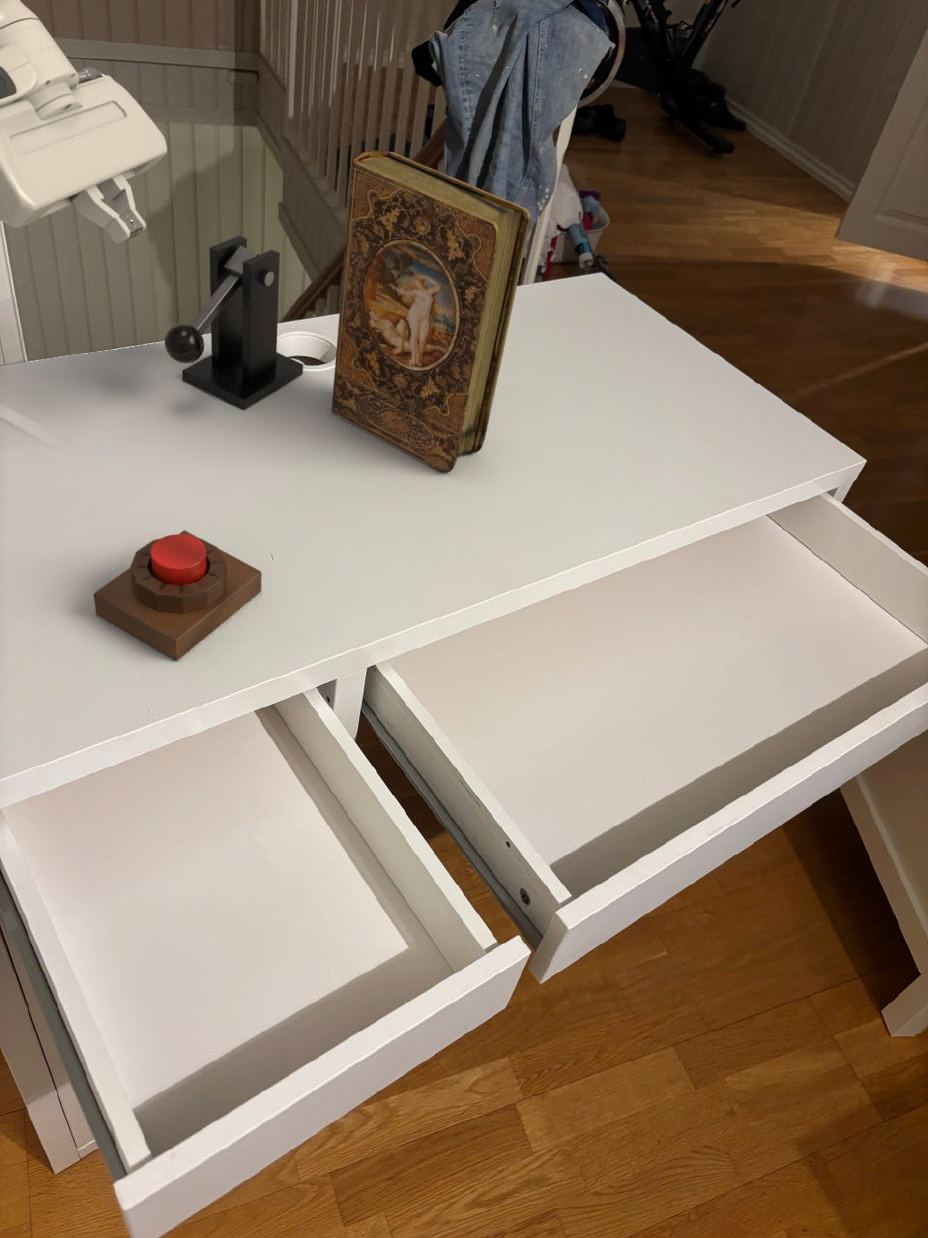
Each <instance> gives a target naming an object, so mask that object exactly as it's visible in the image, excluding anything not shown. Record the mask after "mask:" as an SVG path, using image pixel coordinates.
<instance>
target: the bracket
mask: <svg viewBox="0 0 928 1238" xmlns="http://www.w3.org/2000/svg"><path fill="white" fill-rule="evenodd" d="M240 246H243V247H245V248H247V249H248V239H247V238H246V237H244V236H241V235H237V236H235V237H231V238H229V239H226V240H224V241H222V242H220V243H218V244H215V245H212V246H210V247H209V250H208V251H209V288H210V289H209V293H210V294H209V296H210V298H211V297H212V296H213V294H214V293H215V292H216V291H217V289H218V288H219V287H220V286H221V285H222V283H223V282H224V281H225V280H226V278H227V277H228V273H227V271H226V269H225V267H224V265H225V264H226V263H227V261H228V260H229V259H230V258H231V257H232V255H233V254H234V253H235V252H236V250H237V249H238V248H239V247H240ZM280 259H281V253H280V251H277V250H275V249H270V250H267V251H265V252H262V253H260V254H259V255H258V256H256V257H253V258H251V259H249V260H247V261H244V262H243V288H242V287H239V289H238V290H237V291H236V292H235V294H234V295H233V296H232V298H231V299H230V300H229V301H228V303H227V304H226V305H225V306H224V308H223V309H222V310H221V311H220V313H219V314H218V315H217V316H216V318H215V319H214V320H213V322H212V323H211V324H210V341H211V342H210V345H211V347H210V348H211V354H210V355H208V356H206V357H204V358H202V359H200V360H199V361H198V360H197V361H196V362H195V363H193V364H191V365H189V366H187V367H185V368H183V369H182V370H181V379H182V381H183V382H185V383H188V384H190V385H192V386H194V387H196V388H198V389H200V390H202V391H204V392H206V393H208V394H210V395H212V396H214V397H216V398H218V399H220V400H223V401H224V402H227V403H228V404H231V405H232V406H235V407H236V408H238V409H241V410H243V411H245V410H246V409H248V408H249V407H252V406H253V405H254V404H256V403H258V402H259V401H260V400H263V399H264V398H266V397H268V396H269V395H271V394H272V393H274V392H276V391H277V390H279V389H281V388H282V387H284V386H286V385H287V384H289V383H290V382H292V381H293V380H295V379H298V378H299V377H300V376H302V375H303V374H304V364H303V363H301V362H299V361H297V360H295V359H293V358H290V357H289V356H286V355H284V354H282V353H280V352H278V320H279V295H280V293H279V291H280V287H279V286H280ZM210 298H209V299H210Z"/></svg>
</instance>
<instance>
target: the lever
mask: <svg viewBox="0 0 928 1238" xmlns="http://www.w3.org/2000/svg"><path fill="white" fill-rule="evenodd" d="M258 255H260V254H259V253H258V252H257V251H254V250H252V249H249V248H248V247H247V248H245V247H243V246H240V247H239V248H238V249H237V250H236V252H235V253H234V254H233V255H232V257H231V258H230V259H229V260H228V261H227V263H226V264H225V265H224V267H225V269H226V271H227V273H228V277H227V278H226V280H225V281H224V282H223V283H222V285H221V286H220V287H219V288H218V289H217V291H216V292H215V293H214V294H213V296H212V297H211V298H209V299H208V301H207V302H206V303H205V304H204V305H203V307H202V308H201V309H200V310H199V312H198V313H197V314H196V316H195V317H194V318H193V319H192V320H191V322H190V323H189V324H187V323H178V324H175V325H173V326H172V327H171V328H169V329H168V330H167V332H166V333H165V336H164V348H165V350H166V353H167V354H168V356H169V357H170V358H171V359H172V360H174V361H175V362H177V363H181V364H192V363H194V362H197V361H198V360H199V359H200V358H201V356H202V355H203V353H204V350H205V339H204V337H203V335H204V333H205V332H206V330H207V329H208V328H209V327H210V326H211V323H212V322H213V320H214V319H215V318H216V316H217V315H218V314H219V313H220V311H221V310H222V309H223V308H224V306H225V305H226V304H227V303H228V301H229V300H230V299H231V298H232V296H233V295H234V294H235V292H236V291H237V290H238V289H239V287H242V288H243V262H244V261H247V260H249V259H251V258H253V257H256V256H258Z"/></svg>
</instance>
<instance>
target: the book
mask: <svg viewBox="0 0 928 1238" xmlns="http://www.w3.org/2000/svg"><path fill="white" fill-rule="evenodd" d="M350 167H351V168H350V179H349V192H348V194H349V195H348V203H347V205H348V206H347V217H346V228H345V229H346V230H345V241H344V242H345V243H344V252H343V253H344V254H343V264H342V265H343V266H342V277H341V278H342V279H341V290H340V303H339V313H338V314H339V315H338V326H337V327H338V328H337V339H336V340H337V341H336V352H335V364H334V376H333V377H334V378H333V388H332V400H331V401H332V402H331V414H333V415H335V416H337V417H338V418H341V419H342V420H343V421H346V422H348V423H349V424H351V425H354V426H355V427H357V428H359V429H360V430H362V431H364V432H366V433H368V434H369V435H371V436H373V437H374V438H377V439H379V440H381V441H383V442H384V443H386V444H388V445H390V446H392V447H394V448H395V449H398V450H399V451H401V452H403V453H405V454H406V455H408V456H410V457H412V458H414V459H415V460H417V461H419V462H422V463H423V464H425V465H427V466H429V467H431V468H433V469H436V470H438V471H440V472H441V473H444V474H449V473H451V472H452V471H453V470H454V468H455V466H456V463H457V460H458V457H461V456H465V455H469V454H477V453H478V452H480V451H481V450H482V448H483V446H484V442H485V440H486V435H487V432H488V427H489V422H490V418H491V417H490V416H491V412H492V407H493V403H494V398H495V394H496V389H497V388H496V387H497V384H498V378H499V374H500V369H501V366H502V359H503V355H504V349H505V346H506V340H507V335H508V331H509V327H510V321H511V316H512V311H513V308H514V302H515V297H516V292H517V288H518V283H519V278H520V275H521V270H522V269H521V268H522V265H523V259H524V255H525V250H526V244H527V241H528V235H529V231H530V225H531V213H530V211H529V210H528V209H527V208H526V207H524V206H521V205H519V204H517V203H514V202H512V201H510V200H507V199H505V198H502V197H500V196H498V195H495V194H493V193H491V192H488V191H486V190H483V189H481V188H479V187H477V186H475V185H472V184H469V183H467V182H465V181H462V180H460V179H457V178H455V177H452V176H450V175H448V174H446V173H443V172H441V171H438V170H436V169H434V168H432V167H429V166H426V165H424V164H422V163H419V162H418V161H416V160H412V159H411V158H408V157H405V156H403V155H402V154H401V155H400V154H398V153H396V152H394V151H389V150H368V151H363V152H359V153H357V154H355V155H354V156H353V157H352V158H351V166H350Z"/></svg>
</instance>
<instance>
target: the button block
mask: <svg viewBox="0 0 928 1238" xmlns="http://www.w3.org/2000/svg"><path fill="white" fill-rule="evenodd" d="M178 534H183V535H189V536H192V537H194V538H197V539H198V540H200V541H201V542H202V543H203V545H204V546H205V549H206V571H205V573H204V575H203V576H202V577H201V578H200V579H199V580H197V581H195V582H193V583H190V584H186V585H171V584H167V583H164V582H162V581H160V580H159V579H158V578H156V576H155V575H154V574H153V571H152V563H151V548H152V546H153V544H154V543H155V542H156V541H157V540H159V539H161V538H162V537H161V538H156V539H153V540H151V541H150V542H148V543H146V545H144V546H143V547H141V548H140V549H138V550H137V551H136V552H135V554H134V556H133V559H132V562H131V564H130V566H129V568H127V569H126V570H125V571H123V572H122V573H120V574H119V575H117V576H116V577H115V578H113V579H112V580H110V581H109V582H107V583H106V584H105V585H102V587H100V588H99V589H98V590H96V591H94V593H93V594H92V595H93V601H94V608H95V614H96V615H97V616H99V617H101V618H103V619H104V620H106V621H108V622H110V623H111V624H113V625H114V626H116V627H118V628H120V629H121V630H122V631H125V632H126V633H128V634H130V635H132V636H134V637H135V638H137V639H138V640H140V641H141V642H143V643H145V644H147V645H149V646H150V647H152V648H154V649H156V650H157V651H158V652H160V653H162V654H164V655H166V656H167V657H169V658H171V659H172V660H174V661H179V660H180V659H182V657H184V656H185V655H186V654H188V653H189V652H190V651H191V650H192V649H193V648H194V647H196V646H197V645H199V644H200V642H202V641H203V640H204V639H205V638H207V637H208V636H209V635H210V634H211V633H213V632H214V631H215V630H216V629H218V628H219V627H220V626H222V624H224V623H225V622H226V621H227V620H229V618H231V617H232V616H233V615H234V614H235V613H237V612H238V611H240V610H241V609H242V608H244V606H245V605H246V604H248V603H249V602H251V600H253V599H254V598H255V597H256V596H257V595H258V594H260V593H261V592H262V575H263V573H262V571H261V570H259V569H258V568H256V567H253V566H252V565H250V564H249V563H246V562H245V561H242V560H240V559H239V558H237V557H235V556H233V555H231V554H230V553H228V552H226V551H224V550H222V549H220V548H219V547H218V546H216V545H214V544H212V543H211V542H208V541H207V540H205V539H203V538H201V537H198V536H197V535H194V534H192V533H191V532H189V531H187V530H186V529H185V530H184V529H183V530H182V531H180V532H179V533H178Z"/></svg>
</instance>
